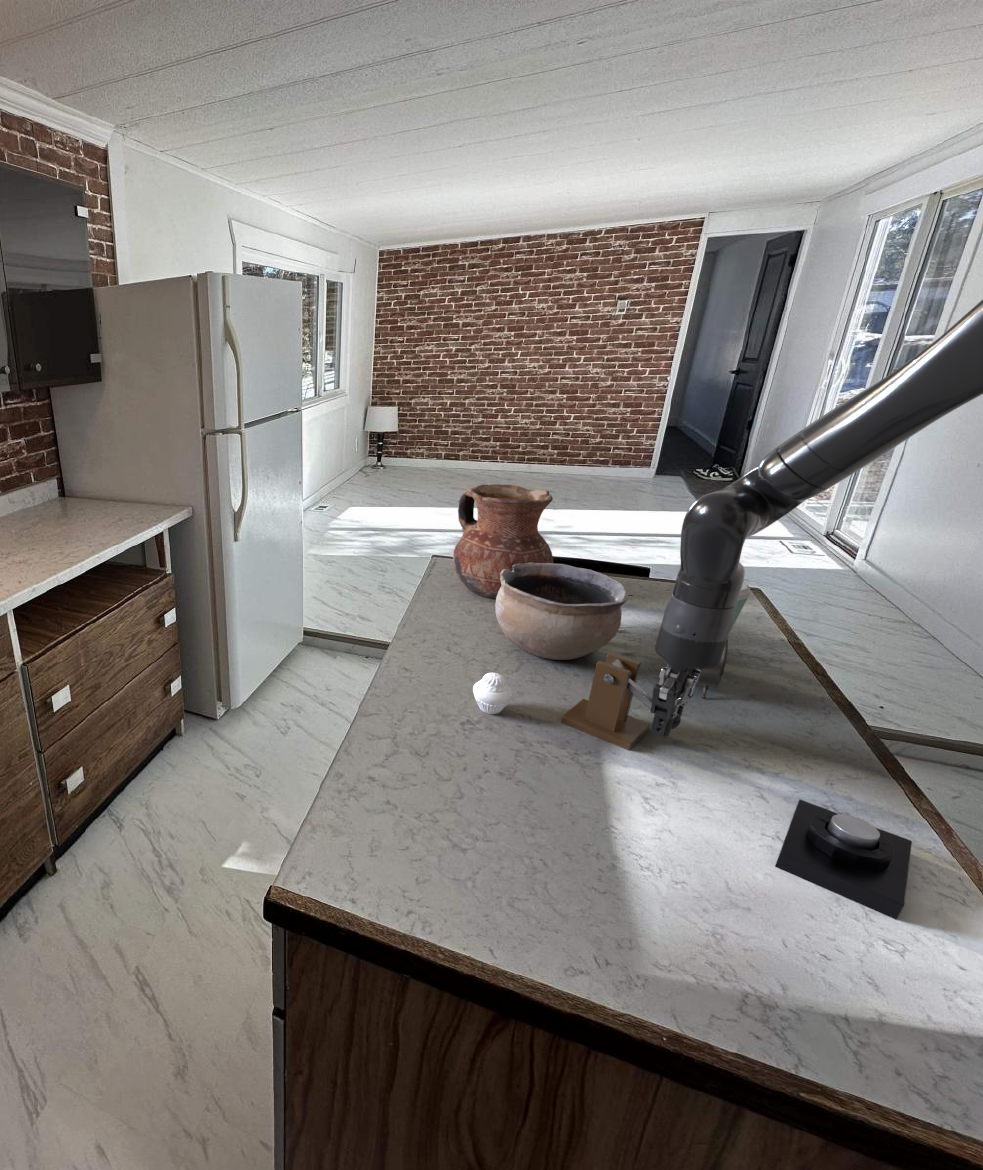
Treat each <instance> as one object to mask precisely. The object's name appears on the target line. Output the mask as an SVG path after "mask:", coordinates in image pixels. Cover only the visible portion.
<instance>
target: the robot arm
mask: <svg viewBox="0 0 983 1170" xmlns="http://www.w3.org/2000/svg"><path fill="white" fill-rule="evenodd" d="M982 395H983V298H982V299H981V300H980V301H979V302H978V303H977V304H975V306H973V307H972V308H971V309H970V310H969V311H968V312H967V313H965V314H964V315H963V316H962V317H961V318H960V319H959V320H958V321H957V322H955V323H954V324H953V325H952V326H951V327H950V328H948V329H947V330H946V331H944V333H943V334H942V335H940V336H939V337H938V338H937V339H935V340H934V341H933V342H932V343H930V344H929V345H928V346H926V347H925V348H924V349H923V350H922V351H920V352H918V353H917V354H916V355H915V356H913V357H912V358H911V359H909V360H908V361H907V362H905V363H904V364H903V365H901V366H900V367H897V368H896V370H894V371H892V372H891V373H890V374H888V375H886V376H885V377H883V378H882V379H880V380H879V381H877V382H875V383H874V384H873V385H870V386H869V387H867V388H866V389H864V390H863V391H861V392H859V393H857V394H856V395H854V396H853V397H851V398H849V399H847V400H846V401H844V402H842V403H841V404H839V405H837V406H836V407H834V408H833V409H831V410H830V411H828V412H827V413H824V414H823V415H822V416H820V417H819V418H817V419H815V420H814V421H813V422H811V423H810V424H808V425H807V426H806V427H804V428H802V429H801V430H800V431H798V432H797V433H795V434H794V435H792V436H791V437H789V438H788V439H787V440H784V442H783V443H781V444H779V445H777V447H775V448H774V449H772V450H771V451H770V452H769V453H767V454H766V455H765V456H764V457H763V458H762V459H761V460H760V462H759V464H758V465H757V466H756V467H754V468H753V469H751V470H750V471H749V472H747V473H746V474H744V475H742V476H741V477H740V478H738V479H737V480H735V481H734V482H732V483H730V484H728V485H726V486H725V487H723V488H721V489H718V490H714V491H711V492H709V493H706V494H704V495H702V496H700V497H698V498H697V499H696V500H694V501H693V502H692V503H691V505H690V506H689V508H688V509H687V511H686V513H685V516H684V518H683V521H682V525H681V530H680V548H679V549H680V550H679V554H680V555H679V556H680V557H679V559H680V566H679V569H678V572H677V575H676V579H675V583H674V586H673V588H672V593H671V594H670V595H671V596H670V598H669V599H668V602H667V603H666V606H665V610H664V614H663V616H662V620H661V624H660V628H659V631H658V634H657V638H656V642H655V646H654V650H655V653H656V654H657V655H658V656H659V657H660V658H662V659H663V660H665V662H666V663H667V664H666V666H663V667H662V668H661V670H660V673H659V675H658V678H659V682H658V683H655V685H653V687H652V696H651V698H652V704H651V710H650V713H651V714H654V715H655V716H653V720H652V723H651V727H650V733H651V734H652V735H654V736H657V737H660V738H663V739H667V738H668V737H669V736H670V735H671V734H670V733H671V730H672V729H671V728H672V724H673V721H674V718H675V717H676V716H677V714H676V713H678V714H679V716H680V718H682V715H683V711H684V708H685V707H686V706H687V705H688V704H689V699H691V698H692V697H694V693H695V691H696V688H697V686H698V684H697V682H698V680H699V678H700V677H701V674H702V670H703V669H710V668H713V667H716V666H717V665H718V664H719V663H720V660H721V657H722V654H723V651H724V648H725V645H726V642H727V639H728V640H729V635H730V633H731V631H730V629H731V626H732V623H733V619H734V611H735V606H736V603H737V600H738V597H739V594H740V591H741V587H742V585H743V581H744V582H745V574H746V572H745V571H746V570H745V567H744V565H743V564H742V563H741V562H740V561H741V557H742V553H743V547H744V544H745V542H746V540H747V538H749V537H752V536H754V535H756V534H757V533H759V532H762V531H763V530H765V529H767V528H768V527H770V526H771V525H773V524H774V523H776V522H778V521H780V519H783V517H785V516H786V515H788V514H789V513H791V512H792V511H793V510H795V509H796V508H797V507H799V506H800V505H802V504H803V503H804V502H805V501H807V500H810V499H812V498H814V497H815V496H818V495H820V494H822V493H824V492H825V491H827V490H828V489H830V488H832V487H834V486H835V485H837V484H839V483H840V482H842V481H843V480H846V479H847V478H849V477H850V476H852V475H853V474H855V473H857V472H859V471H860V470H862V469H864V468H865V467H866V466H869V465H870V464H872V463H873V462H874V461H876V460H877V459H880V458H881V457H883V456H884V455H886V454H888V453H889V452H890V451H891V450H893V449H895V448H896V447H898V446H899V445H901V444H903V443H904V442H905V441H907V440H908V439H910V438H911V437H913V436H914V435H916V434H918V433H919V432H921V431H922V430H924V429H925V428H927V427H928V426H930V425H931V424H933V423H935V422H937V421H939V420H940V419H942V418H943V417H945V416H946V415H948V414H950V413H952V412H953V411H955V410H957V409H958V408H960V407H963V406H964V405H966V404H968V403H969V402H972V401H973V400H975V399H977V398H978V397H981V396H982ZM731 630H732V629H731ZM729 632H730V633H729Z"/></svg>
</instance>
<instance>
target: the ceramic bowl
mask: <svg viewBox="0 0 983 1170" xmlns="http://www.w3.org/2000/svg"><path fill="white" fill-rule="evenodd" d="M512 567H513V571H510V570H508V569H503V570H502V571H501V573H500V581H501V585H502V586H501V588H500V589H499V591H498V594H497V597H496V598H495V606H494V608H495V609H494V610H495V616H496V619H497V623H498V624H499V627H500V628H501V631H502V632H503V633H504V635H505V636H506V638H507V639H508V640H509V642H511V643H512V644H513V645H514V646H516V647H517V648H518V649H520V650H521V651H523V652H525V653H527V654H530V655H531V656H535V657H538V658H543V659H547V660H555V661H557V660H558V661H565V660H566V661H567V660H574V659H579V658H582V657H584V656H588V655H589V654H591V653H593V652H595V651H597V650H599V649H602V648H603V647H605V646H607V645H608V644H609V643H610V642H611V641H612V640H613V639H614V638H615V636H616V635H617V633H618V631H619V629H620V627H621V624H622V606H624V604H625V603H626V602H627V600H628V598H629V597H630V595H629V592H628V591H627V588H626V587H625V586H624V584H623V583H621V582H620V581H618V580H616V579H614V578H611V577H610V576H609V575H607V574H605V573H601V572H599V571H595V570H592V569H588V568H582V567H578V566H577V567H576V566H572V565H568V564H565V563H554V562H553V563H533V562H532V563H524V564H515V565H513V566H512Z"/></svg>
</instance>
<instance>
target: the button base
mask: <svg viewBox="0 0 983 1170" xmlns="http://www.w3.org/2000/svg"><path fill="white" fill-rule="evenodd" d="M837 814H839V813H838V812H835V811H832V810H830V809H827V808H824V807H821V806H819V805H816V804H814V803H812V802H811V803H810V802H808V801H805V800H802V799H798V802H797V804H796V807H795V809H794V812H793V815H792V817H791V819H790V820H791V821H790V823H789V825H788V829H787V832H786V834H785V837H784V840H783V843H782V846H781V848H780V852H779V854H778V857H777V859H776V862H775V865H774V866H775V868H777V869H780V870H782V871H784V872H786V873H788V874H790V875H793V876H795V877H797V878H800V879H802V880H804V881H807V882H808V883H811V884H814V885H816V886H818V887H819V888H820V887H821V888H822V889H825V890H827V891H829V892H831V893H834V894H836V895H838V896H841V897H843V898H846V899H848V900H850V901H852V902H855V903H857V904H859V905H861V906H864V907H866V908H868V909H871V910H873V911H875V912H878V913H880V914H882V915H885V916H886V917H889V918H891V919H894V920H898V918H899V916H900V914H901V912H902V910H903V909H904V906H905V900H906V892H907V883H908V875H909V868H910V860H911V852H912V844H913V840H910V839H908V838H905V837H902V836H900V835H897V834H895V833H891V832H889V831H887V830H884V829H882V828H878V827H876V826H874V827H875V828H876V829H877V830H878V831H879V833H880V837H879V839H878V842H877V844H876V846H875V848H874V849H873V850H864V849H858V848H855V847H852V846H850V845H847V844H845V843H842V842H840V841H839V840H837V839H836V838H834V837H832V836H831V835H830V834H829V833H828V831H827V828H828V826H829V823H830V821H831V819H832V817H833V816H834V815H837Z"/></svg>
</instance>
